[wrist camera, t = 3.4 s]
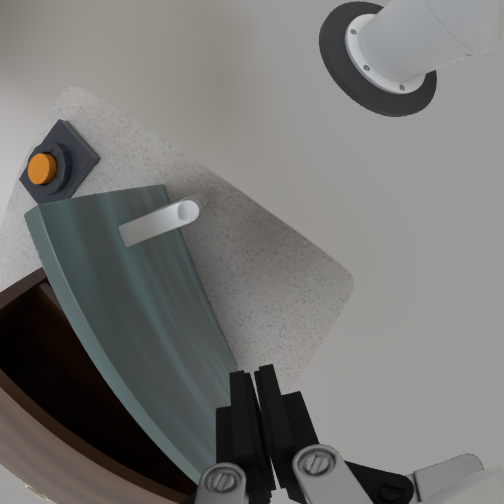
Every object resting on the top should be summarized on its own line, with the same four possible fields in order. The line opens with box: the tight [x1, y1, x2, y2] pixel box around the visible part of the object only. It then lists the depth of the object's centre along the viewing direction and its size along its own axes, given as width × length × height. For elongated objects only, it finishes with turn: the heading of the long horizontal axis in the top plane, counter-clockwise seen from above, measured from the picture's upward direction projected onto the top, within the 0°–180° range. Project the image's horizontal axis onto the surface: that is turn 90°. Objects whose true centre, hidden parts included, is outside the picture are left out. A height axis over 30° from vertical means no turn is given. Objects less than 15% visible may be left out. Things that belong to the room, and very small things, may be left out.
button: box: [28, 154, 57, 184], centre depth 26 cm, size 4×4×2 cm
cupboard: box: [0, 267, 198, 504], centre depth 25 cm, size 18×26×24 cm
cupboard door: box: [24, 185, 237, 485], centre depth 24 cm, size 6×26×24 cm, turn 18°
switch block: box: [19, 119, 100, 205], centre depth 28 cm, size 10×8×4 cm
